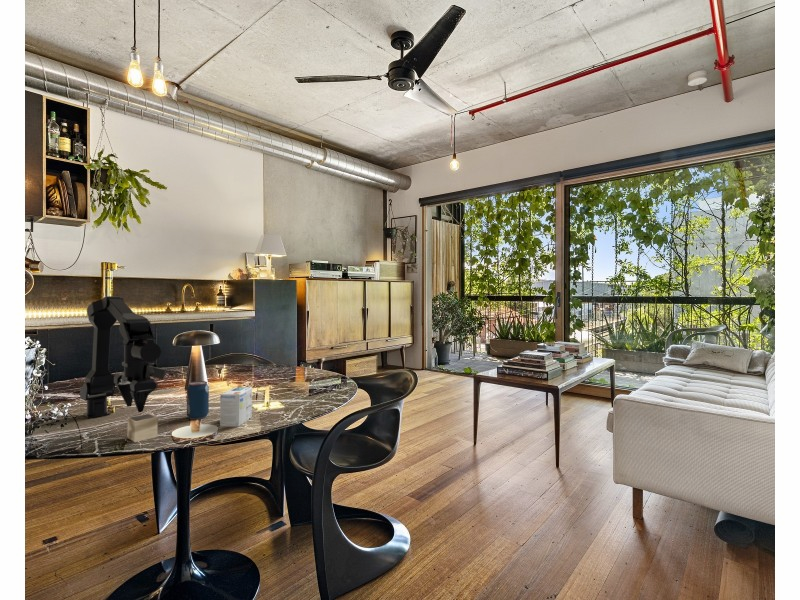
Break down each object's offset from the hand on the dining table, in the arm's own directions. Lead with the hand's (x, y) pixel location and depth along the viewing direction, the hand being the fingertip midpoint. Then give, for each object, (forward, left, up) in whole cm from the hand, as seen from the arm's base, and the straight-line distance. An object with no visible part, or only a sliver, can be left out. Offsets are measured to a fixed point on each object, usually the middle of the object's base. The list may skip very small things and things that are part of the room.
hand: (134, 409), depth 125 cm
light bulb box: (+13, +26, -8) cm, 30 cm away
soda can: (-2, +20, -7) cm, 21 cm away
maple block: (+6, 0, -1) cm, 7 cm away
